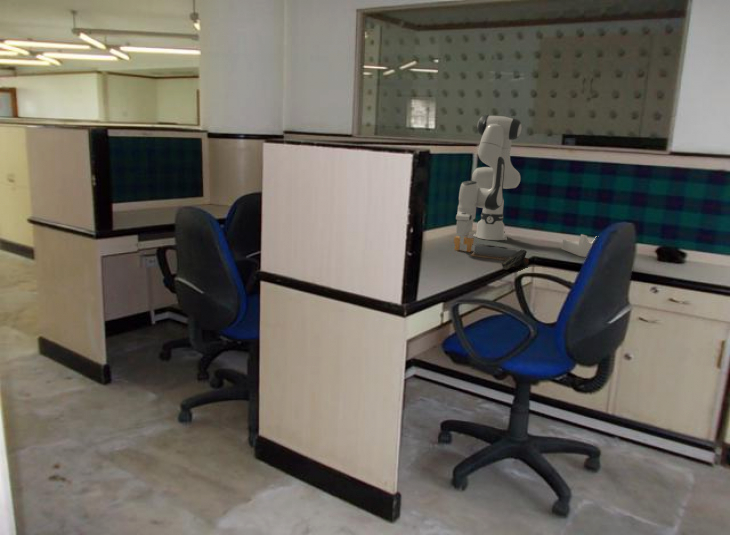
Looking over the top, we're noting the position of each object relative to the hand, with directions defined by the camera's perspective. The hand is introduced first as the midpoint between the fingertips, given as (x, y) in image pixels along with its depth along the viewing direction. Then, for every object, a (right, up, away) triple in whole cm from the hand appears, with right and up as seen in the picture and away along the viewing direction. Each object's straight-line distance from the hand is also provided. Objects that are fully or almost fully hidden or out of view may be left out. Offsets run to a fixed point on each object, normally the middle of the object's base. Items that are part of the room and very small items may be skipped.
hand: (463, 242), depth 301 cm
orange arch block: (0, -4, +1) cm, 4 cm away
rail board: (+14, -7, -9) cm, 18 cm away
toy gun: (+18, -13, -31) cm, 38 cm away
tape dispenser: (+61, -5, +13) cm, 63 cm away
